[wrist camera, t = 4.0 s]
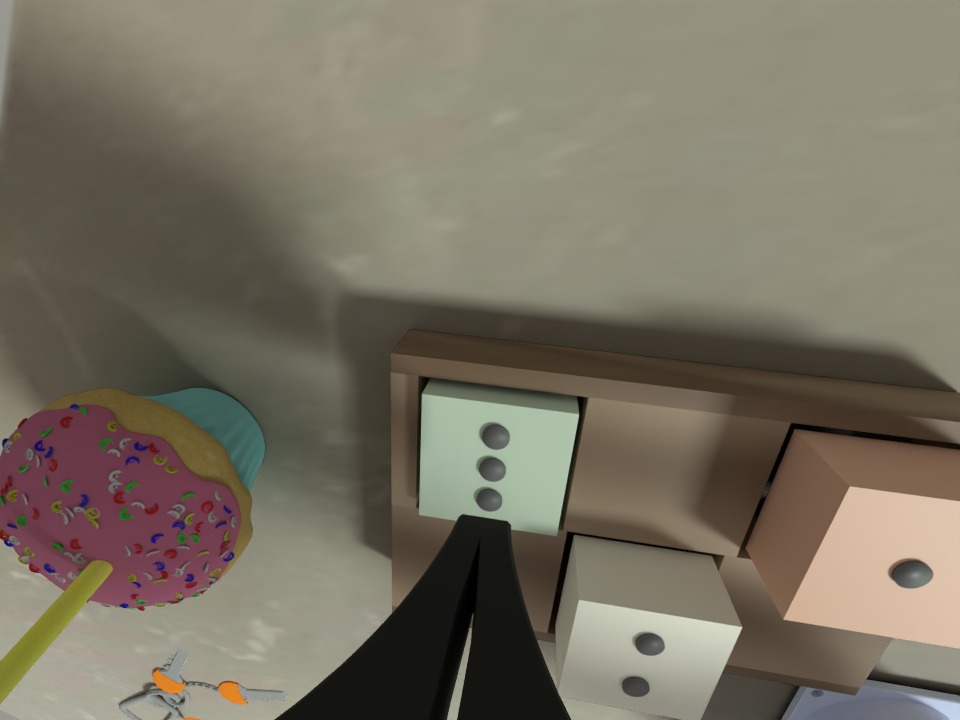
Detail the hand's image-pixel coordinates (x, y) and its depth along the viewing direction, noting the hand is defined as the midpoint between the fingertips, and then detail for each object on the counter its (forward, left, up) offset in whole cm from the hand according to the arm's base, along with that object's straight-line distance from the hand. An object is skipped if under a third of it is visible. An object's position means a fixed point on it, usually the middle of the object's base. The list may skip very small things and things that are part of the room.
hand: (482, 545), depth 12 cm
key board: (-3, -6, -6) cm, 9 cm away
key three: (0, 0, -6) cm, 6 cm away
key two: (-5, -6, -4) cm, 9 cm away
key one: (0, -12, -4) cm, 12 cm away
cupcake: (-3, +13, -7) cm, 15 cm away
